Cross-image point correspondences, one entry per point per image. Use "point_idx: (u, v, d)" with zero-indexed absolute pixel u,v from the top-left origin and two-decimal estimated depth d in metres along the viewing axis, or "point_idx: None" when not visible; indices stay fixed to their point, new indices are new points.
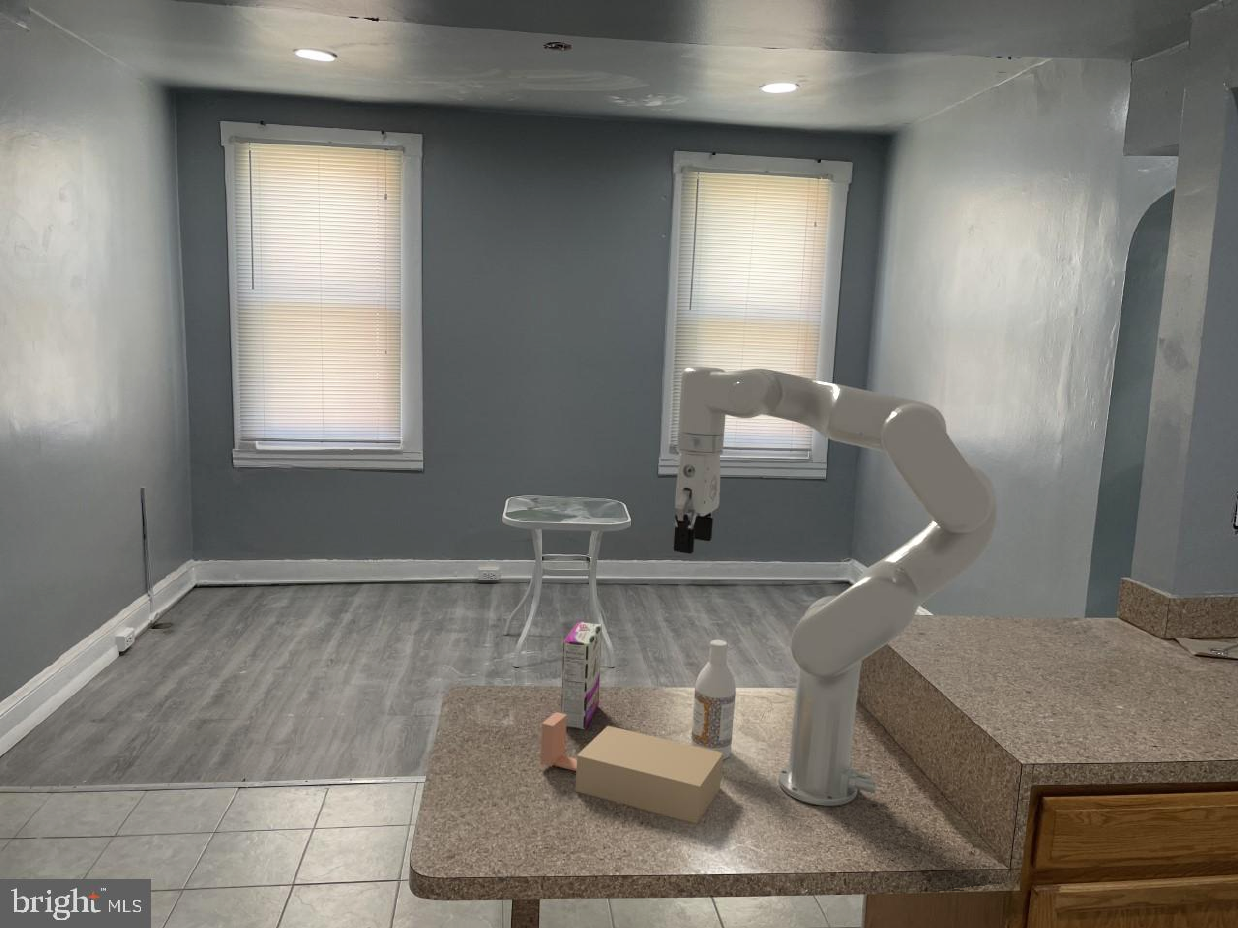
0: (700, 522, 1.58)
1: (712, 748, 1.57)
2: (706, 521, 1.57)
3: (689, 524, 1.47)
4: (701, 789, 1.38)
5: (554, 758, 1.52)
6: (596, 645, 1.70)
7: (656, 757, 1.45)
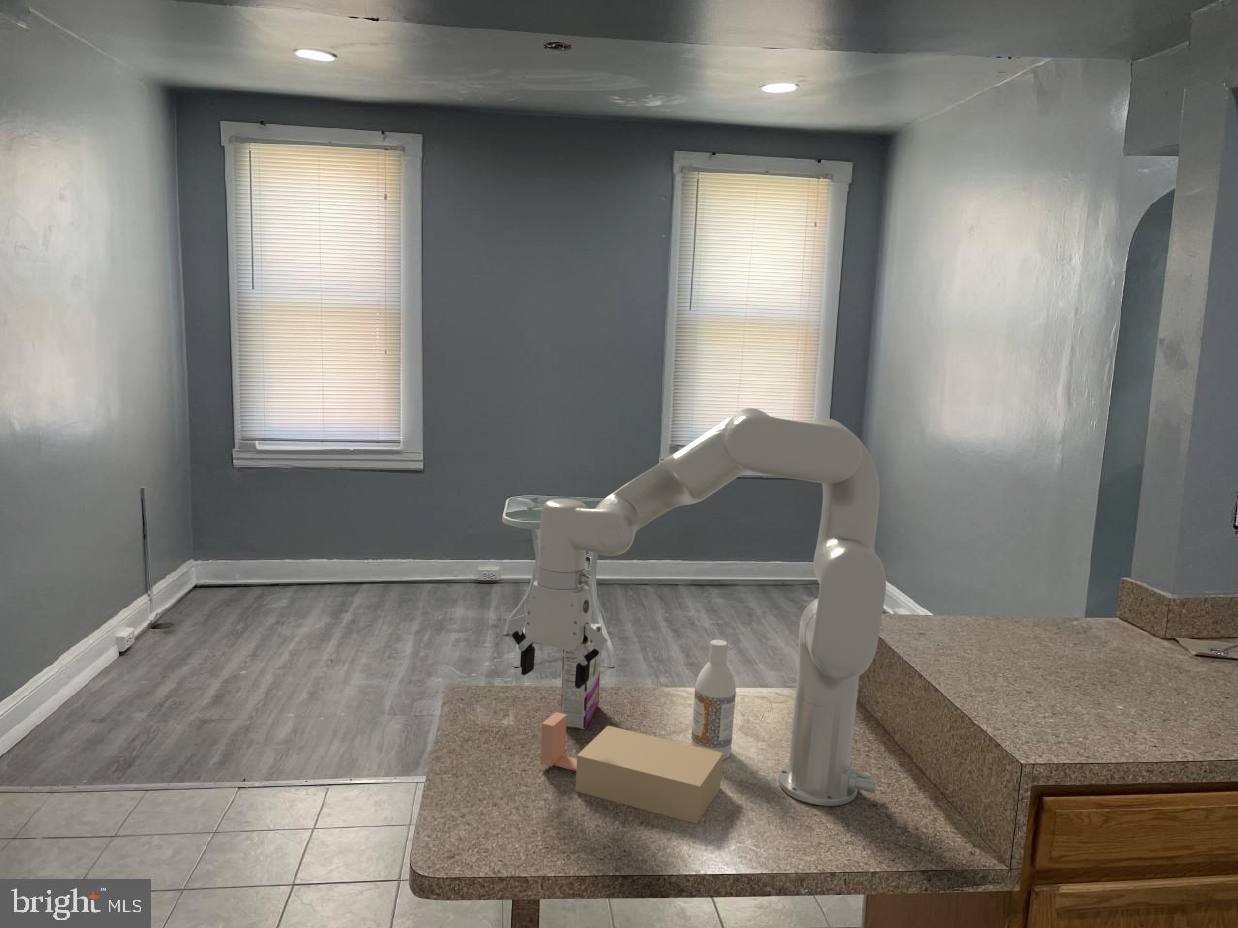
0: (529, 655, 1.52)
1: (712, 748, 1.57)
2: (532, 652, 1.53)
3: None
4: (701, 789, 1.38)
5: (554, 758, 1.52)
6: None
7: (656, 757, 1.45)
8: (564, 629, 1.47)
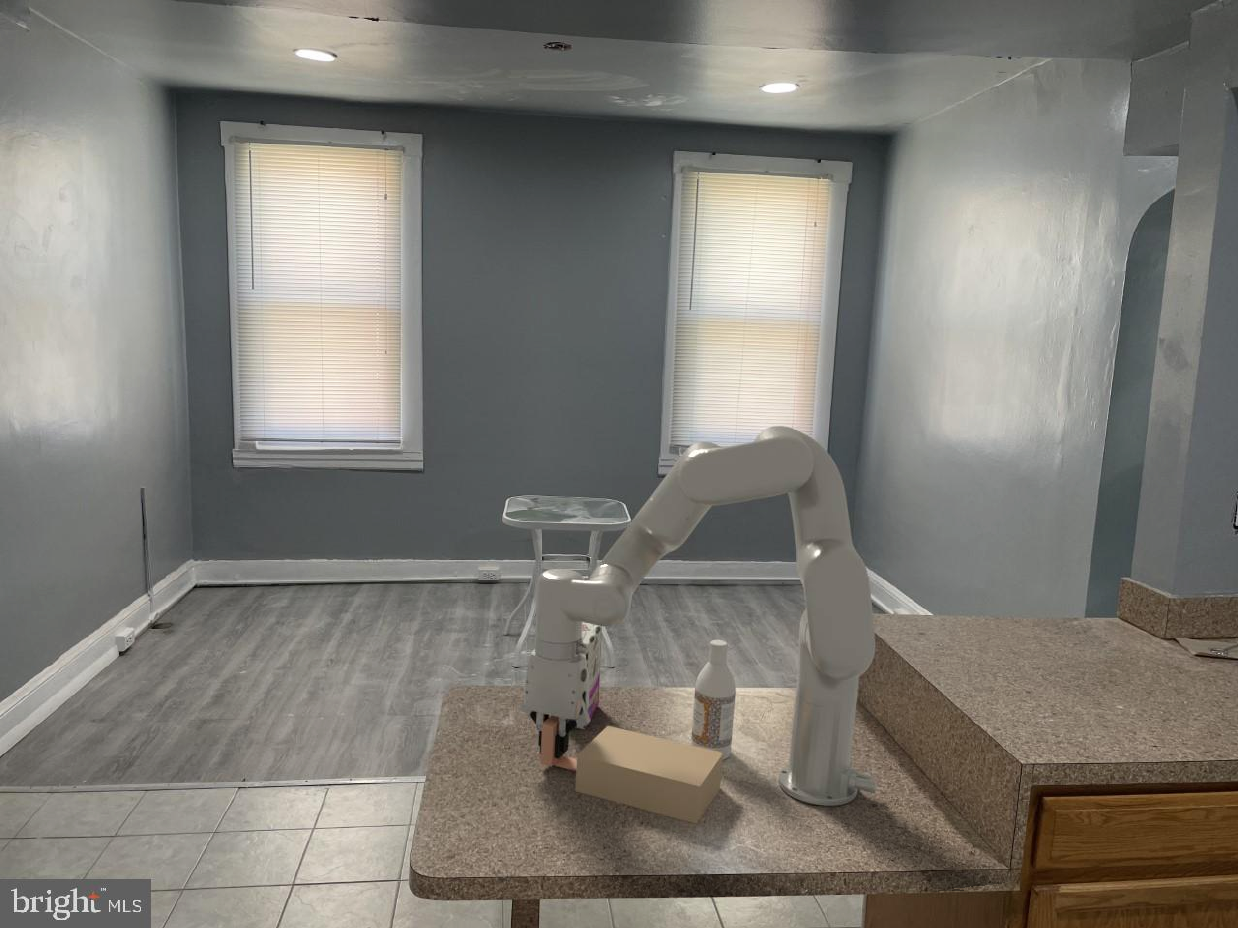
0: None
1: (712, 748, 1.57)
2: None
3: None
4: (701, 789, 1.38)
5: (554, 758, 1.52)
6: (596, 645, 1.70)
7: (656, 757, 1.45)
8: (562, 698, 1.48)
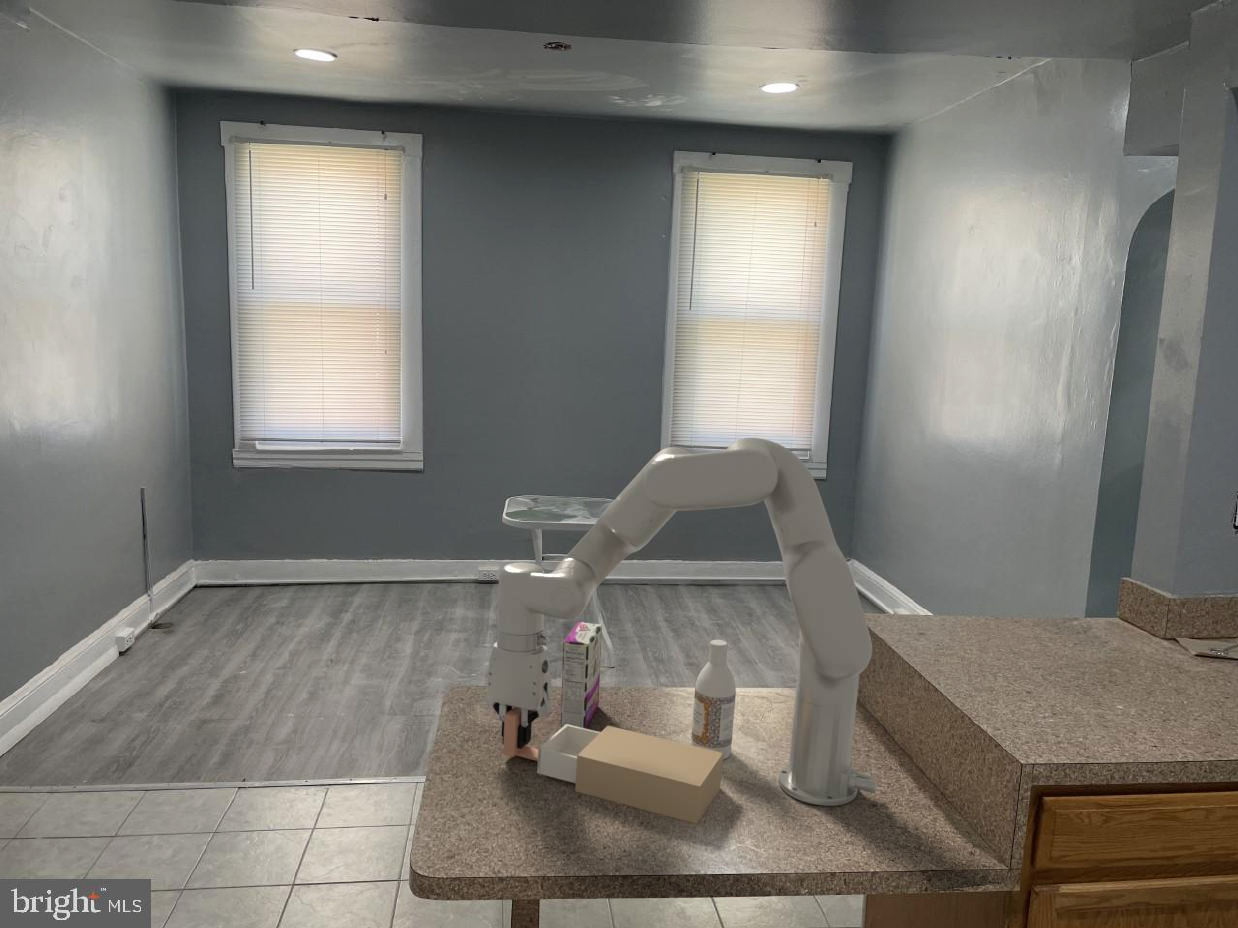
0: None
1: (712, 748, 1.57)
2: None
3: None
4: (701, 789, 1.38)
5: (517, 748, 1.54)
6: (596, 645, 1.70)
7: (656, 757, 1.45)
8: (524, 689, 1.51)
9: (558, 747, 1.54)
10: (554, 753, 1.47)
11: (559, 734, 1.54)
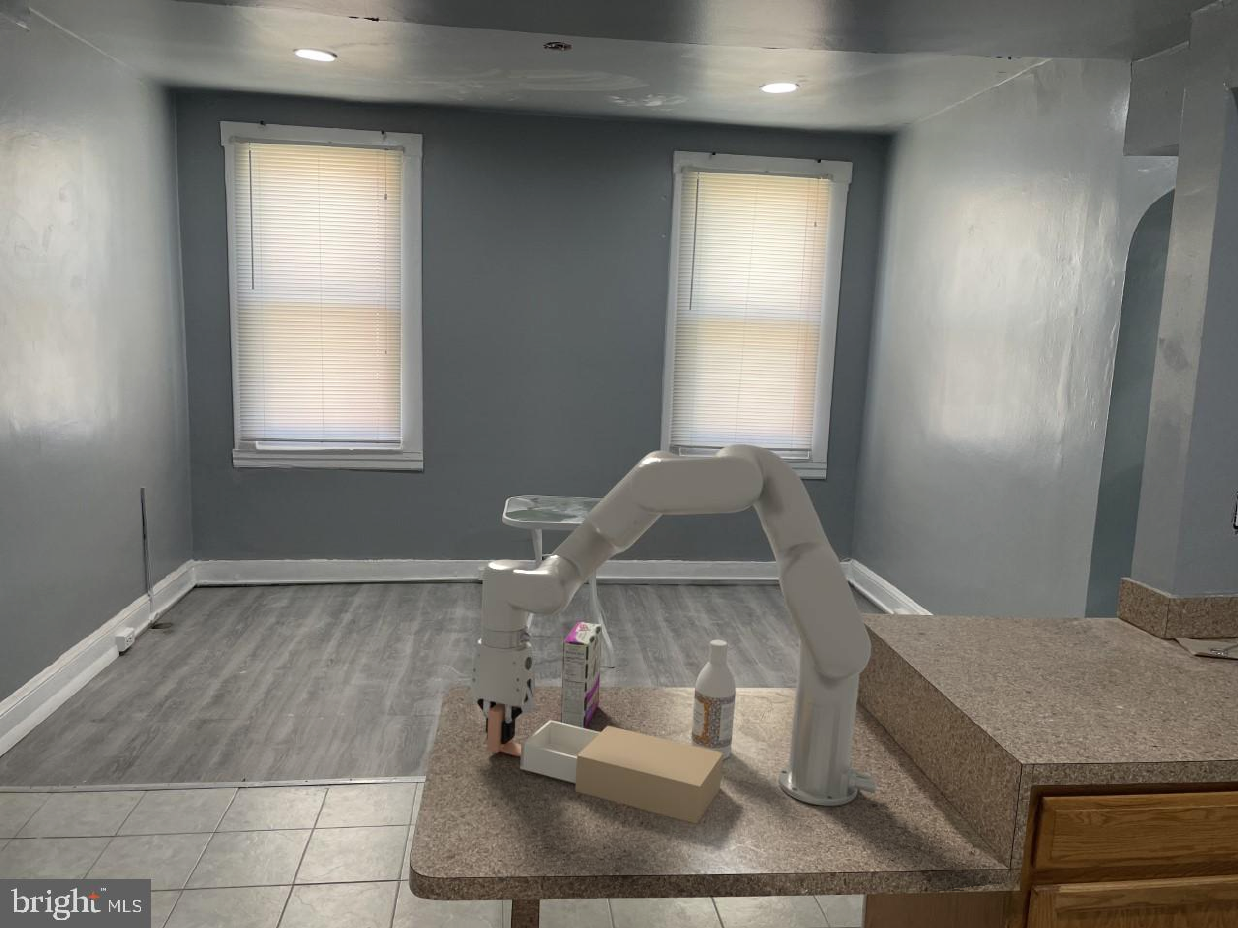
0: None
1: (712, 748, 1.57)
2: None
3: None
4: (701, 789, 1.38)
5: (500, 744, 1.55)
6: (596, 645, 1.70)
7: (656, 757, 1.45)
8: (507, 686, 1.52)
9: (541, 743, 1.55)
10: (537, 749, 1.48)
11: (542, 730, 1.55)
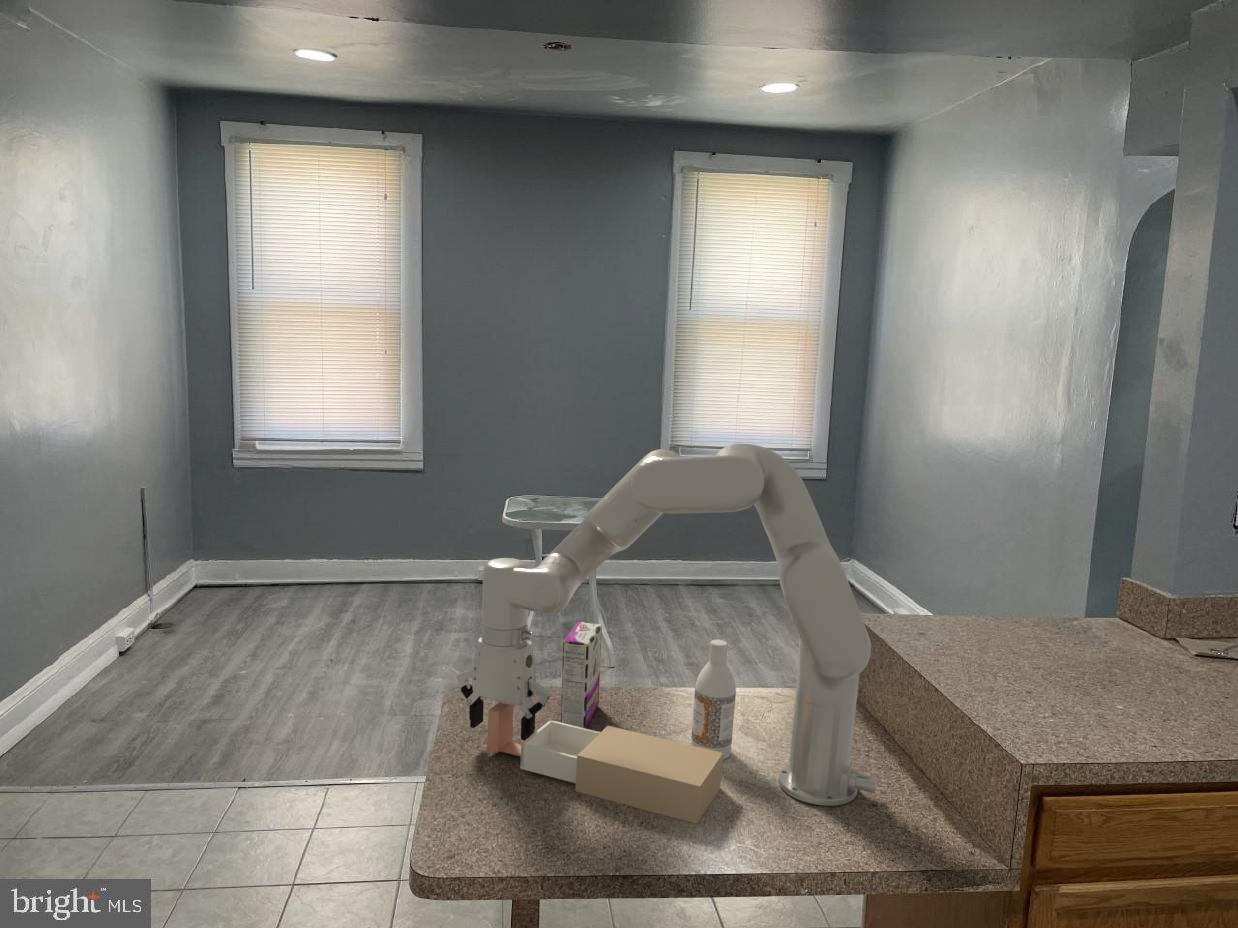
0: (478, 708, 1.57)
1: (712, 748, 1.57)
2: (481, 704, 1.58)
3: None
4: (701, 789, 1.38)
5: (500, 744, 1.55)
6: (596, 645, 1.70)
7: (656, 757, 1.45)
8: (508, 684, 1.52)
9: (541, 743, 1.55)
10: (537, 749, 1.48)
11: (542, 730, 1.55)
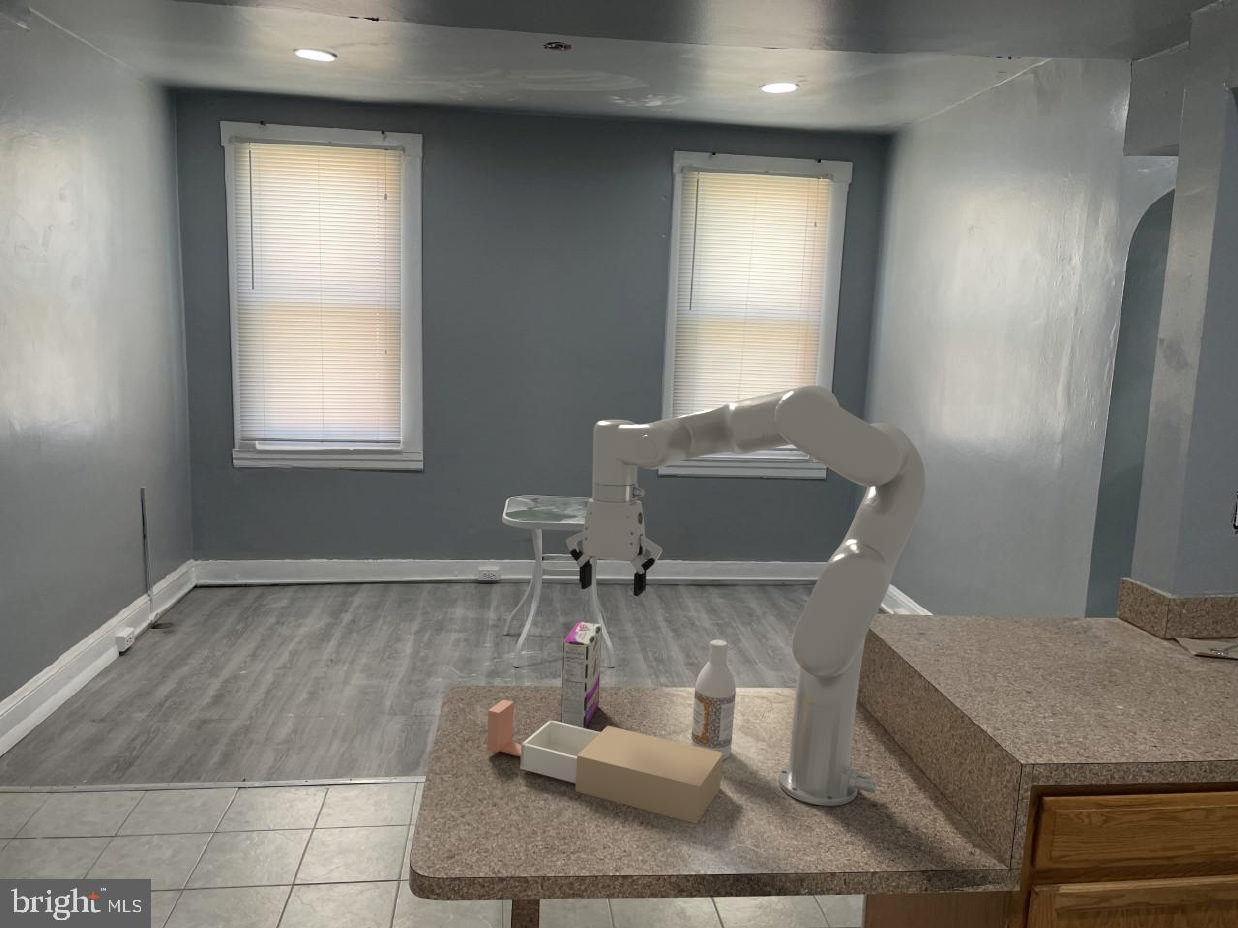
0: (588, 571, 1.61)
1: (712, 748, 1.57)
2: (590, 567, 1.62)
3: None
4: (701, 789, 1.38)
5: (500, 744, 1.55)
6: (596, 645, 1.70)
7: (656, 757, 1.45)
8: (621, 540, 1.56)
9: (541, 743, 1.55)
10: (537, 749, 1.48)
11: (542, 730, 1.55)
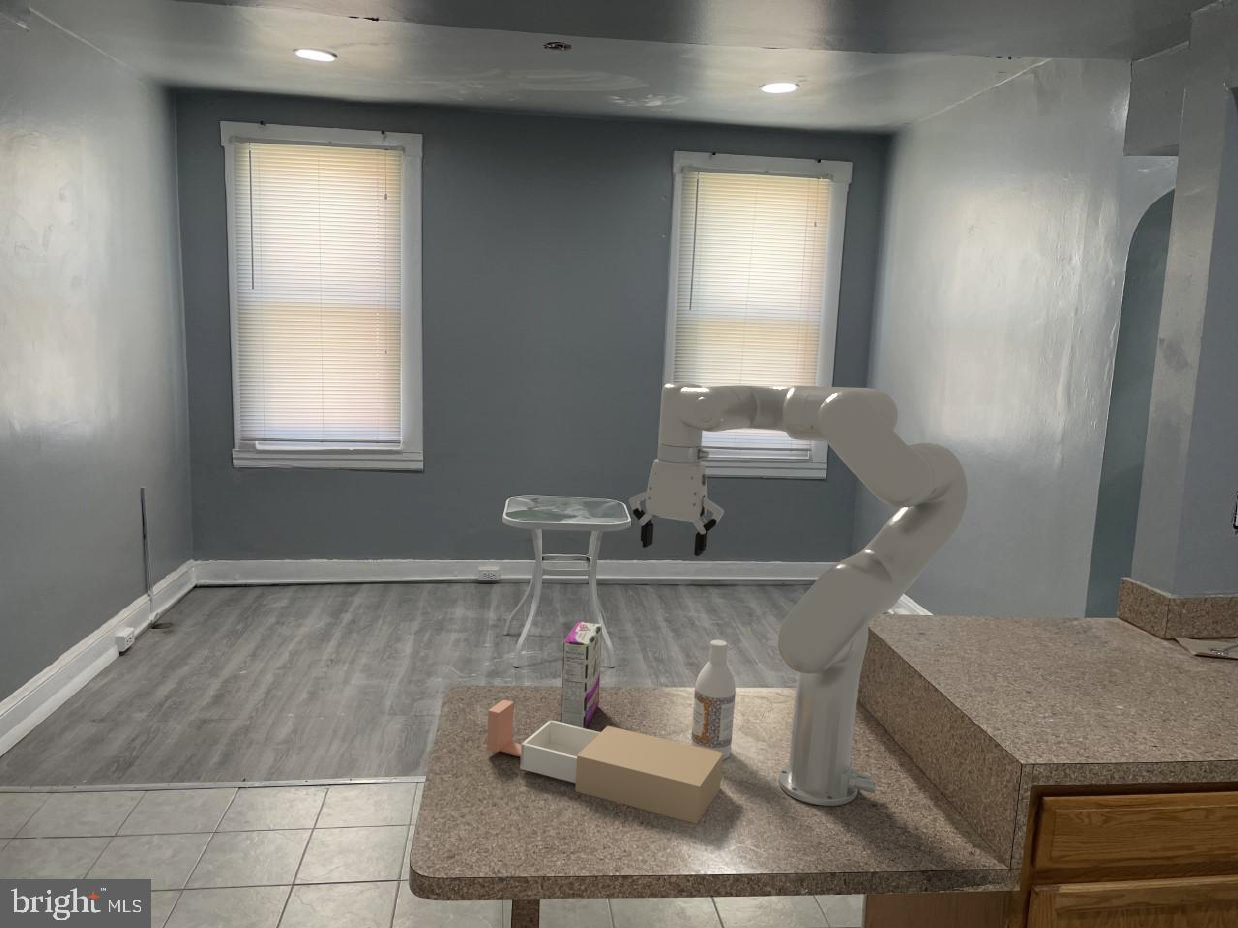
0: (649, 530, 1.65)
1: (712, 748, 1.57)
2: (651, 527, 1.66)
3: None
4: (701, 789, 1.38)
5: (500, 744, 1.55)
6: (596, 645, 1.70)
7: (656, 757, 1.45)
8: (684, 501, 1.60)
9: (541, 743, 1.55)
10: (537, 749, 1.48)
11: (542, 730, 1.55)
